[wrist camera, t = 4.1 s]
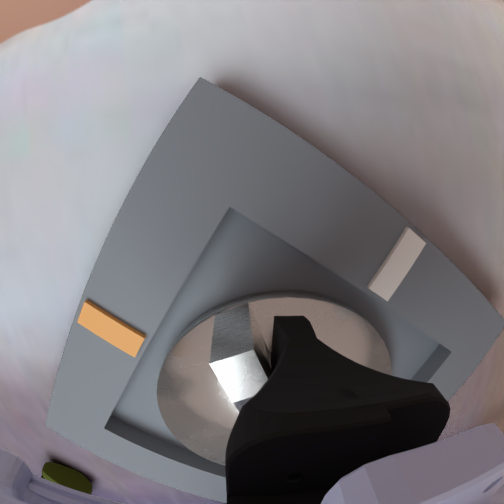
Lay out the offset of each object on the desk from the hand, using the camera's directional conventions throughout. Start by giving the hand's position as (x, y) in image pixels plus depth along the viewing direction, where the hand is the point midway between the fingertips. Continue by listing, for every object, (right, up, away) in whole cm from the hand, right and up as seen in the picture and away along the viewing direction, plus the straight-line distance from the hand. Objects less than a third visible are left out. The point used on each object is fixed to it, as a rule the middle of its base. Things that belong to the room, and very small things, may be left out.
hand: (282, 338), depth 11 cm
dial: (0, -4, +3) cm, 5 cm away
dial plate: (0, -4, +4) cm, 6 cm away
